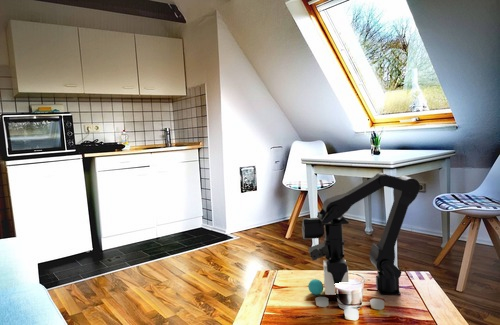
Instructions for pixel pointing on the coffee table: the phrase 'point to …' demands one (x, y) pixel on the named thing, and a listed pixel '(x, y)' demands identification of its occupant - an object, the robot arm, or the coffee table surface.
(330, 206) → the robot arm
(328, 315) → the coffee table surface
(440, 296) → the coffee table surface
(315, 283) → the ball
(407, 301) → the coffee table surface
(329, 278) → the white upright block
